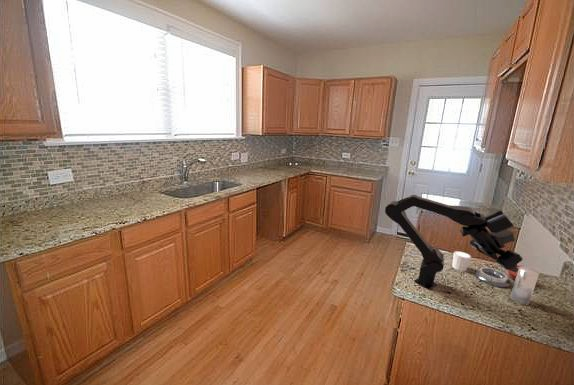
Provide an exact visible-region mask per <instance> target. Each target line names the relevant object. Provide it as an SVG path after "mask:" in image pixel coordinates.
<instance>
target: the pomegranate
mask: <svg viewBox="0 0 574 385" xmlns="http://www.w3.org/2000/svg"><path fill="white" fill-rule="evenodd" d="M516 265H517V269H519V267H520V266H523V265H521V264H520V265H518V264H516ZM517 273H518V271H517V272H516V273H515V272H513V271H510V270H508V273H507V274H508V276H509V277H510V278H511V279H512V280H514V281H515V279H516V276H517Z"/></svg>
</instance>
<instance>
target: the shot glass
mask: <svg viewBox="0 0 574 385" xmlns="http://www.w3.org/2000/svg"><path fill="white" fill-rule="evenodd" d="M471 258H472V255H471V254H469V253H467V252H465V251H464V252H463V251H460V250H459V251H457V250H455V251H453V256H452V264H451V266H452V268H453V269H455V270H457V271H460V272H466V271H467V270H468V267H469V264H470V262H471V260H472V259H471Z"/></svg>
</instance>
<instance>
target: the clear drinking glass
mask: <svg viewBox="0 0 574 385" xmlns="http://www.w3.org/2000/svg"><path fill="white" fill-rule="evenodd" d="M539 275H540V272H539V271H538V270H536V269H534V268H533V267H528V266H525V265H522V266H520V267H519V269H518V273H517V276H516V279H515V280H514V284H513V287H512V289H511V292H510V297H509V298H510V299H511V301H513V302H515V303H516V304H520V305H524V306H529V305H530V303H531V299H532V296H533V294H534V290H535V287H536V284H537V281H538V278H539Z"/></svg>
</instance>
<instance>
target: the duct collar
mask: <svg viewBox="0 0 574 385" xmlns="http://www.w3.org/2000/svg"><path fill="white" fill-rule="evenodd" d="M474 275H475V277H476V279H478V280H479V281H481V282H482V283H484V284H487V285H490V286H493V287H497V288H504V289H505V288H509V287H510V285H511V281H510V280H509V277H508V275H507V274H506V273H504V272H503V271H501V270H498V269H496V268H492V267H487V266H486V267H485V266H482V267H480V268H479V269H477V270H476V271H475V273H474Z"/></svg>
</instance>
